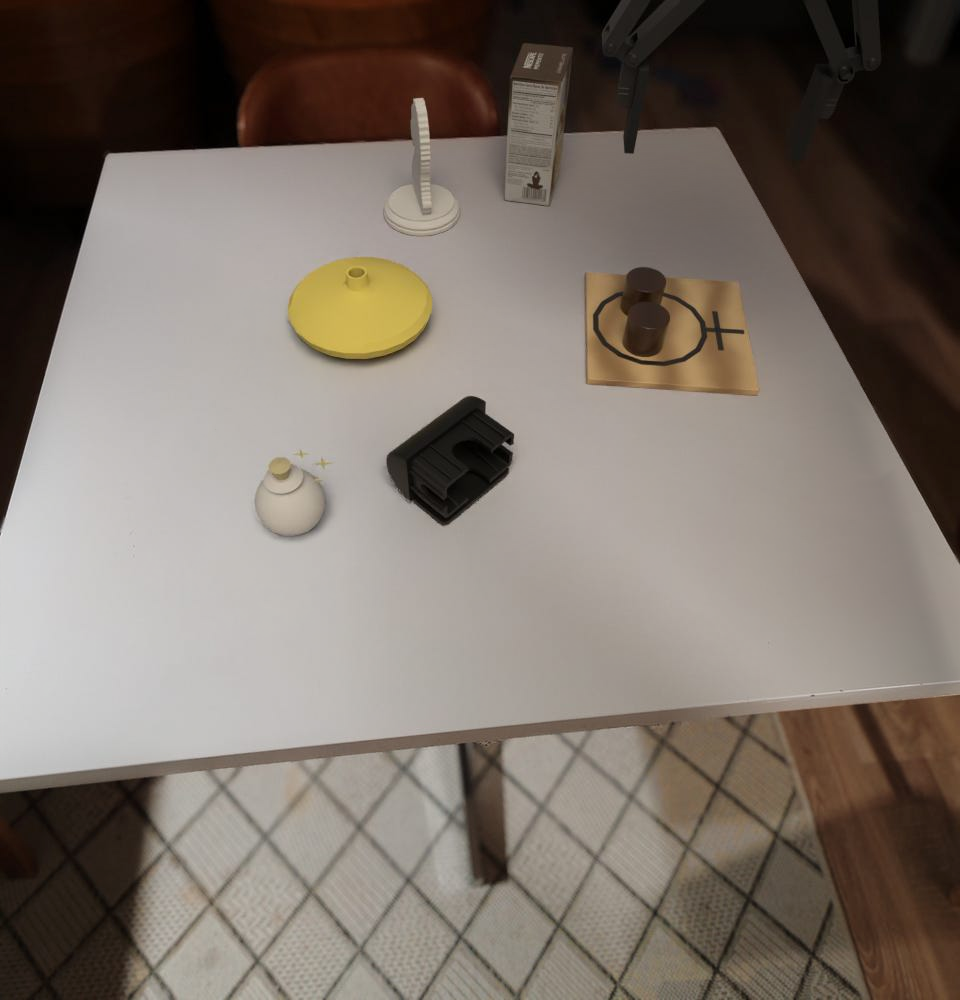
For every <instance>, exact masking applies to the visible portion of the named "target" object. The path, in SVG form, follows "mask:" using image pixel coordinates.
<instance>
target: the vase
mask: <svg viewBox="0 0 960 1000" xmlns="http://www.w3.org/2000/svg"><path fill="white" fill-rule="evenodd" d="M286 311H287V315H288V320H289V323H290V325H291V326H292V327H293V328H294V330H295V332H296V333H297V335H298V336H299V337H300V339H301V340H302V341H303V342H305V343H306V344H307V345H308V346H309V347H311V348H312V349H313V350H316V351H318V352H320V353H323V354H325V355H328V356H331V357H336V358H341V359H345V360H356V359H357V360H358V359H359V360H368V359H373V358H378V357H383V356H387V355H389V354H392V353H395V352H397V351H399V350H402V349H404V348H405V347H406V346H408V345H410V344H411V343H412V342H414V341H416V340H417V338H418V337H419V336H420V335H421V333H422V332H423V331H424V330H425V328H426V326H427V324H428V323H429V320H430V316H431V314H432V311H433V296H432V293H431V291H430V288H429V285H427V284H426V282H425V281H424V280H423V279H422V278H421V277H420V275H418V274H417V273H416V272H414V271H413V270H411V268H408V267H407V266H405V265H404V264H401V263H398V262H396V261H394V260H391V259H387V258H380V257H375V256H354V257H347V258H341V259H337V260H334V261H331V262H328V263H325V264H322V265H320V266H319V267H316V268H315V269H313V270H312V271H310V272H309V273H307V275H305V277H304V278H302V279H301V280H300V281H299V282H298V283H297V285H296V287H295V288H294V290H293V291H292V293H291V295H290V296H289V298H288V303H287V309H286Z"/></svg>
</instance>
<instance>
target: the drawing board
mask: <svg viewBox="0 0 960 1000" xmlns="http://www.w3.org/2000/svg"><path fill="white" fill-rule="evenodd" d="M626 276H627V274H622V273H621V274H619V273H603V272H589V271H588V272H585V278H584V279H585V280H584V281H585V284H584V285H585V352H586V353H585V356H586V357H585V358H586V359H585V360H586V363H585V364H586V384H587V385H593V386H594V385H597V386H610V387H624V388H625V387H626V388H640V389H641V388H642V389H656V390H668V391H669V390H670V391H671V390H672V391H685V392H686V391H687V392H698V393H699V392H700V393H712V394H713V393H715V394H729V395H741V396H742V395H744V396H758V395H759V393H760V390H761V389H760V386H759V380H758V374H757V369H756V365H755V360H754V355H753V350H752V346H751V345H752V344H751V340H750V335H749V330H748V325H747V320H746V315H745V309H744V304H743V300H742V294H741V290H740V285H739V281H733V280H732V281H730V280H729V281H728V280H717V279H716V280H714V279H697V278H683V277H667V276H665V278H666V286H665V290H664V294H663V298H662V302H661V306H663V307H664V308H666V309H667V311H668V312H669V314H670V322H669V326H668V329H667V333H666V336H665V340H664V344H663V347H662V350H661V351H660V352H659V353H658V354H656V355H654V356H651V357H639V356H635V355H633V354H631V353H629V352H628V351H627V350H626V349H625V348H624V346H623V343H622V340H623V335H624V331H625V326H626V322H627V317H628V316H626V315H625V314H624V313H623V312H622V310H621V300H622V295H623V291H624V286H625V281H626Z"/></svg>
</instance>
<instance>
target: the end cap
mask: <svg viewBox="0 0 960 1000" xmlns="http://www.w3.org/2000/svg"><path fill="white" fill-rule="evenodd" d="M486 407H487V402H486V400H484V399H483V398H480V397H479V396H474V395H466V396H465V397H463V398H462V399H460V400H459V401H458V402H457V403H455V404H453V405H452V406H451V407H449V408H448V409H447V410H446V411H445V410H444V412H442V413H441V414H440V415H439V416H437V417H436V418H435V419H433V420H432V421H431V422H429V423H428V424H426V425H425V426H424V427H422V428H421V429H420V430H418V431H417V432H415V433H414V434H413V435H411V436H410V437H409V438H407V439H405V440H404V441H403V442H402V443H400V445H398V446H396V447H395V448H394V449H392V450H391V451H390V452H389V453H388V454H387V455H386V458H385V463H386V468H387V472H388V475H389V476H390V478H391V480H392V482H393V483H394V485H395V487H397V489H398V490H399V491H400V493H401V494H402V495H403V496H404V497H405V498H406V499H407V500H408V501H409V502H412V503H414V504H415V505H416V506H417V507H418V508H419V509H420V510H422V511H423V512H424V513H426V514H427V515H428V516H429V517H431V518H432V519H434V521H436V522H437V523H438V524H439V525H441V526H448V525H449V524H451V523H452V522H453V521H454V520H456V519H457V518H458V517H460V516H461V515H462V514H463V513H464V512H465V511H466V510H468V509H469V508H470V507H471V506H473V505H474V504H475V503H476V502H478V501H479V500H480V499H481V498H482V497H483V496H485V495H486V494H487V493H488V492H490V491H491V490H492V489H493V488H494V487H495V486H497V485H498V484H499V483H500V482H501V481H503V480H504V479H506V478H507V476H508V475H509V473H510V469H509V468H510V467H511V464H512V463H513V454H514V453H513V452H512V451H511V450H510V449H508V448H507V447H506V446H505V445H503V444H504V443H506V444H507V445H509V446H510V447H511V446H513V445H514V441H515V433H514V432H513V431H511V430H510V429H509V428H507V427H506V426H504V425H503V424H502V423H500V422H498V421H497V420H495V419H494V418H493V417H492V416H490V415H488V414H487V412H486Z"/></svg>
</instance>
